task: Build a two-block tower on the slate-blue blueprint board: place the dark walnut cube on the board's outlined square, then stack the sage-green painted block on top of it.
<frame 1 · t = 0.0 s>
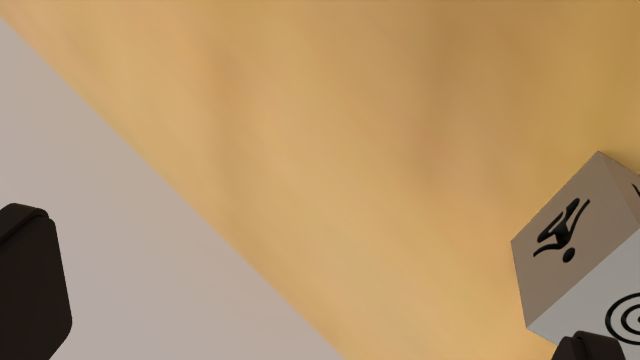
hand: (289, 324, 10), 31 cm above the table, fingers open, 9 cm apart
icon cube: (603, 228, 42), on the table
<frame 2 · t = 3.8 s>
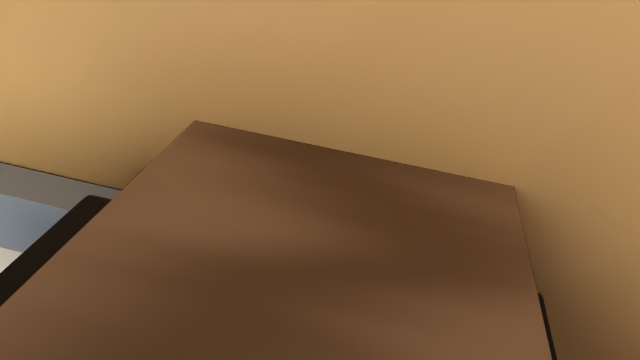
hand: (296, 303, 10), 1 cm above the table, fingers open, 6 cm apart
walnut block: (328, 274, 11), on the table, touching gripper
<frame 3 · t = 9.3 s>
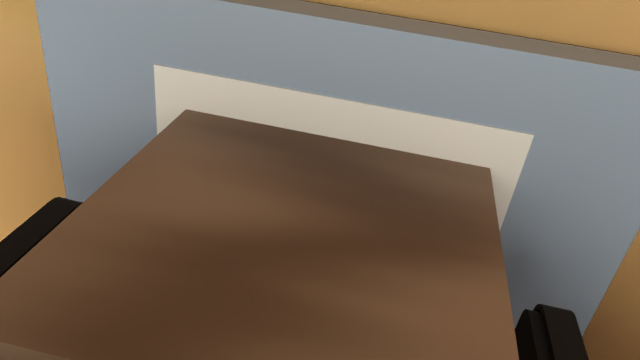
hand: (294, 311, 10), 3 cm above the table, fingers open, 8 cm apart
blueprint board: (324, 223, 13), on the table
walnut block: (316, 257, 12), point 1 cm above the table, touching blueprint board
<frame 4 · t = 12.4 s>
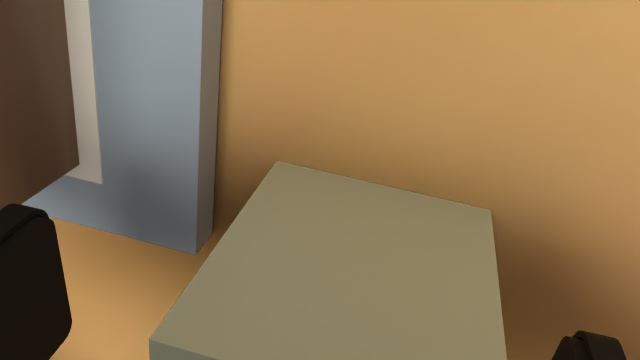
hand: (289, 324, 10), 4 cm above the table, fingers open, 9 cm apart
green block: (362, 269, 13), on the table
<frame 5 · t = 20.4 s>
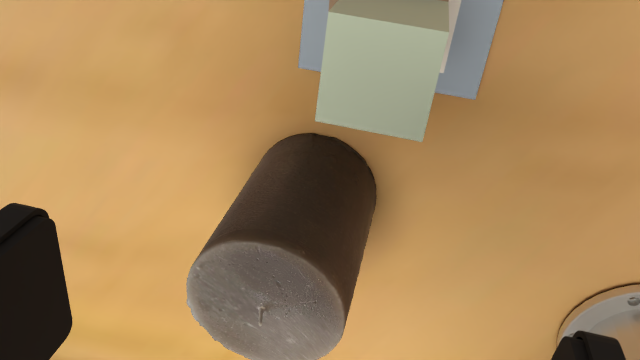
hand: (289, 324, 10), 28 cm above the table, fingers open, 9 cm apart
blueprint board: (400, 4, 34), on the table
green block: (389, 42, 28), point 7 cm above the table, touching walnut block
pillar candle: (314, 187, 42), on the table
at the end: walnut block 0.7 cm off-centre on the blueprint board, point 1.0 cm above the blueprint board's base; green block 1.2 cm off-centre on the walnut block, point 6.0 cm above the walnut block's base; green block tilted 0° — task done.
